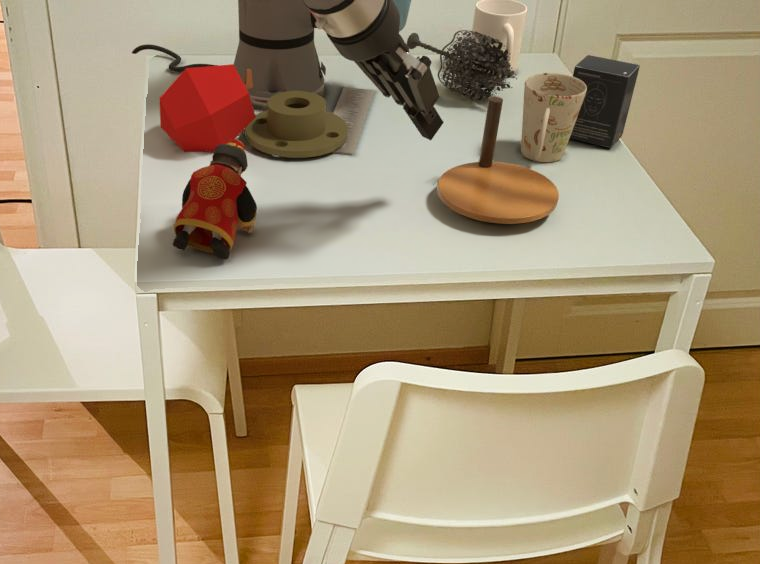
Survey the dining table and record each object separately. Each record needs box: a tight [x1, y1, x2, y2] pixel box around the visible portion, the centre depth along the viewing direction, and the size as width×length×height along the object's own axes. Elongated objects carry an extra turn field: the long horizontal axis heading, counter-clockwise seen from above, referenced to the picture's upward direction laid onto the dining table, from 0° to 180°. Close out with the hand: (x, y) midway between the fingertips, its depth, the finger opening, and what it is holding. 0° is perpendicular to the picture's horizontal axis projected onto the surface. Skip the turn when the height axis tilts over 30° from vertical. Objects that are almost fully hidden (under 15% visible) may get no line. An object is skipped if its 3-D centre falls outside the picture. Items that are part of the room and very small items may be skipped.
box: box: [569, 54, 641, 149], centre depth 136 cm, size 8×6×11 cm
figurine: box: [172, 138, 258, 260], centre depth 115 cm, size 10×10×15 cm
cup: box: [469, 0, 528, 78], centre depth 154 cm, size 8×12×10 cm
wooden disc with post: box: [436, 96, 560, 225], centre depth 120 cm, size 16×16×10 cm
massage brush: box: [406, 29, 518, 102], centre depth 149 cm, size 9×22×9 cm
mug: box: [520, 72, 587, 163], centre depth 131 cm, size 8×13×10 cm, turn 163°
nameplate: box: [329, 87, 375, 156], centre depth 143 cm, size 23×1×5 cm
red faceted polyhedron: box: [158, 63, 256, 153], centre depth 134 cm, size 12×12×15 cm
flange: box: [244, 91, 348, 159], centre depth 136 cm, size 5×15×15 cm
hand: (432, 129), depth 118 cm, fingers closed
